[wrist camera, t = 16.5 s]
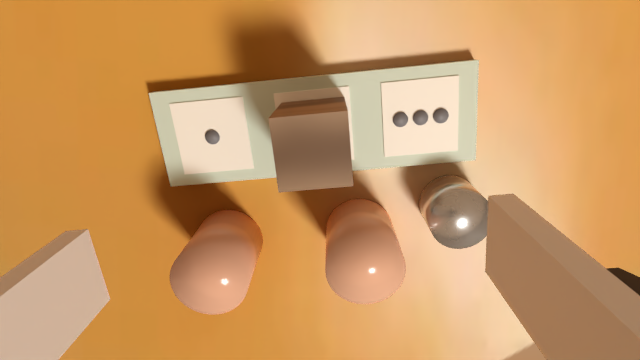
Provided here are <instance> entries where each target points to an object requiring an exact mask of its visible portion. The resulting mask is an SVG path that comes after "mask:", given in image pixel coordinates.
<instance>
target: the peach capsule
mask: <svg viewBox="0 0 640 360" xmlns="http://www.w3.org/2000/svg"><path fill="white" fill-rule="evenodd" d="M262 244H263V238H262V233H261V230H260V228H259V226H258V225H257V224H256V222H255V221H254V220H253V219H252V218H250V217H249V216H248V215H246V214H244V213H242V212H239V211H235V210H220V211H217V212H215V213H212V214H211V215H209V216H208V217H207V218H206V219H205V220H204V221H203V223H202V224H201V225H200V227H199V228H198V230H197V231H196V232H195V234H194V235H193V237H192V238H191V239H190V241H189V242H188V244H187V245H186V246H185V248H184V249H183V251H182V252H181V253H180V255H179V256H178V258H177V259H176V260H175V262H174V263H173V265H172V268H171V271H170V283H171V287H172V289H173V291H174V293H175V295H176V296H177V298H178V299H179V300H180V301H181V302H182V303H183V304H184V305H186V306H187V307H189V308H190V309H192V310H195V311H197V312H200V313H204V314H222V313H226V312H228V311H231V310H233V309H234V308H236V307H237V306H238V305H239V304H240V303H241V302H242V301H243V299H244V298H245V296H246V293H247V290H248V287H249V284H250V281H251V278H252V275H253V272H254V269H255V266H256V263H257V260H258V257H259V255H260V252H261V249H262Z"/></svg>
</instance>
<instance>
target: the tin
mask: <svg viewBox="0 0 640 360" xmlns="http://www.w3.org/2000/svg"><path fill="white" fill-rule="evenodd" d="M419 208H420V211H421V214H422V216H423V218H424V219H425V221H426V223H427V225H428V227H429V229H430V231H431V232H432V234H433V236H434V237H435V239H436V240H437V241H438V242H439V243H441V244H442V245H444V246H447V247H449V248H455V249H462V248H467V247H471V246H473V245H475V244H477V243H479V242H480V241H481V240H483V239H484V238H485V237H486V236H487V221H488V201H487V200H486V199H485V198H484V197H483V196H482V195H481V194H480V193H479V192H478V191H477V190H476V189H475V188H474V187H473V186H472V185H471V184H470V183H469V182H468V181H467V180H465V179H463V178H461V177H459V176H453V175H447V176H442V177H439V178H436V179H435V180H433V181H431V182H430V183H429V184H428V185H427V186H426V187H425V188H424V190H423V191H422V193H421V196H420V200H419Z"/></svg>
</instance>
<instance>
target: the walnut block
mask: <svg viewBox="0 0 640 360" xmlns="http://www.w3.org/2000/svg"><path fill="white" fill-rule="evenodd" d="M268 120H269V127H270V134H271V141H272V148H273V155H274V162H275V169H276V176H277V183H278V190H279V192H290V191H302V190H314V189H326V188H338V187H350V186H353V173H352V159H351V146H350V133H349V120H348V110H347V106H346V102H345V98H344V97H334V98H324V99H313V100H303V101H293V102H283V103H281V104H280V105H279V106H278V107H277V108H276V110H275V111H274V112H273V113H272V114H271V116H270V117H269V118H268Z"/></svg>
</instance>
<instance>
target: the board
mask: <svg viewBox="0 0 640 360" xmlns="http://www.w3.org/2000/svg"><path fill="white" fill-rule="evenodd" d="M478 68H479V60H464V61H454V62H444V63H434V64H424V65H414V66H404V67H394V68H384V69H374V70H364V71H355V72H345V73H335V74H325V75H315V76H305V77H295V78H285V79H275V80H265V81H255V82H245V83H235V84H225V85H215V86H205V87H195V88H185V89H175V90H165V91H155V92H151V93H149V97H150V101H151V105H152V110H153V114H154V118H155V122H156V127H157V131H158V135H159V139H160V144H161V148H162V152H163V156H164V160H165V165H166V169H167V173H168V177H169V182H170V186H183V185H194V184H206V183H218V182H229V181H241V180H252V179H264V178H275V177H277V176H276V169H275V162H274V155H273V148H272V141H271V134H270V127H269V120H268V118H269V117H270V116H271V114H272V113H273V112H274V111H275V110H276V108H277V107H278V106H279V105H280V104H281V103H283V102H293V101H303V100H313V99H324V98H334V97H344V98H345V102H346V106H347V110H348V120H349V133H350V146H351V159H352V171H357V170H368V169H380V168H391V167H403V166H415V165H426V164H438V163H449V162H461V161H473V160H476V135H477V102H478Z"/></svg>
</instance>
